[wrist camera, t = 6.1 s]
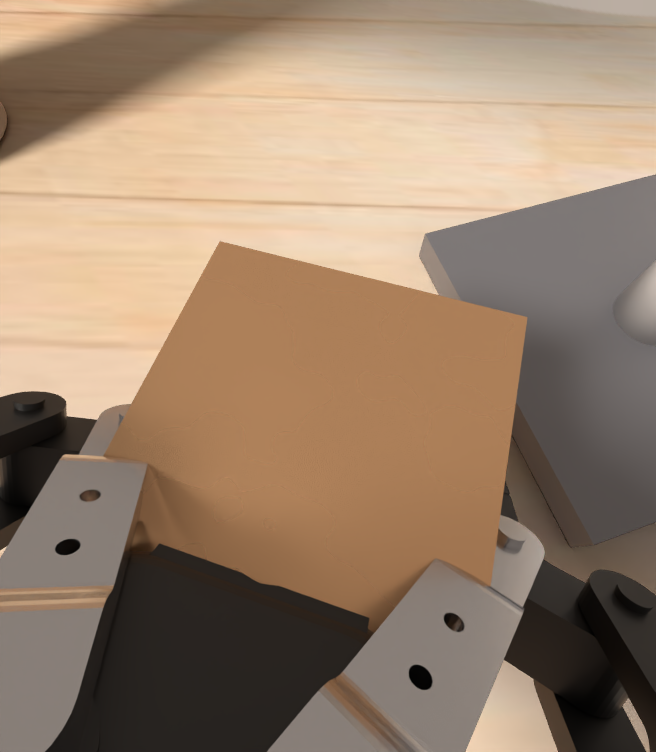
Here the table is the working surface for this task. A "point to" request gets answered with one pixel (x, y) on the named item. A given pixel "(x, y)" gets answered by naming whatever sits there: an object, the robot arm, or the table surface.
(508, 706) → the table surface
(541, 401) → the post base
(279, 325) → the wooden block
